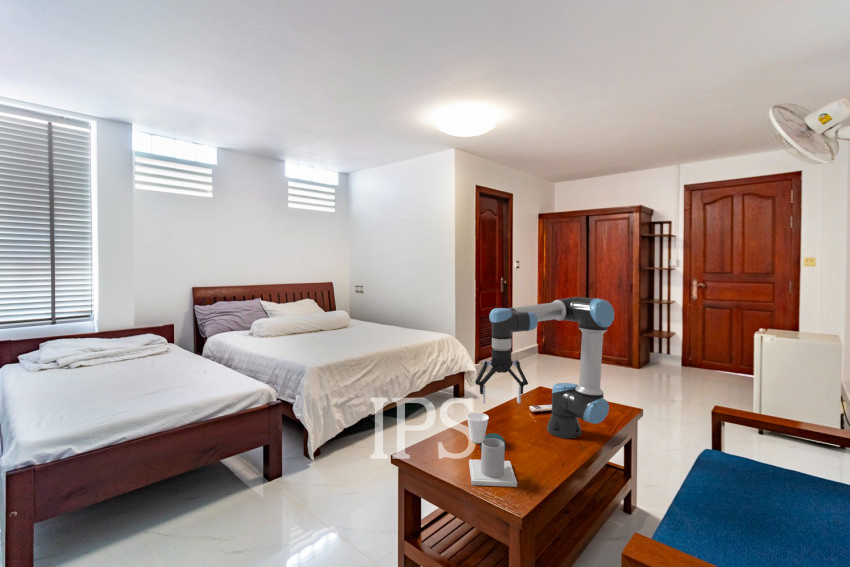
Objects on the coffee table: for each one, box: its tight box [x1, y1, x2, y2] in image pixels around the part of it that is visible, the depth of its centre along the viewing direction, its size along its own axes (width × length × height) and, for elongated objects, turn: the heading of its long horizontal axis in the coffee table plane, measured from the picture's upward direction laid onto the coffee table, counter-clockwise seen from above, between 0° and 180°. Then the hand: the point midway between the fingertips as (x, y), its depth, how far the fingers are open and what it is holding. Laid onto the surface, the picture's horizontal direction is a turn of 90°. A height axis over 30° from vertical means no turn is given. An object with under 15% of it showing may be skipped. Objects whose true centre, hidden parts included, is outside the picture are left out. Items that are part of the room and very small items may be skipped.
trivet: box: [468, 459, 518, 488], centre depth 153 cm, size 16×16×2 cm
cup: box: [466, 412, 490, 444], centre depth 181 cm, size 10×10×11 cm
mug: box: [480, 437, 506, 477], centre depth 152 cm, size 12×8×11 cm
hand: (501, 402), depth 159 cm, fingers open, 13 cm apart
